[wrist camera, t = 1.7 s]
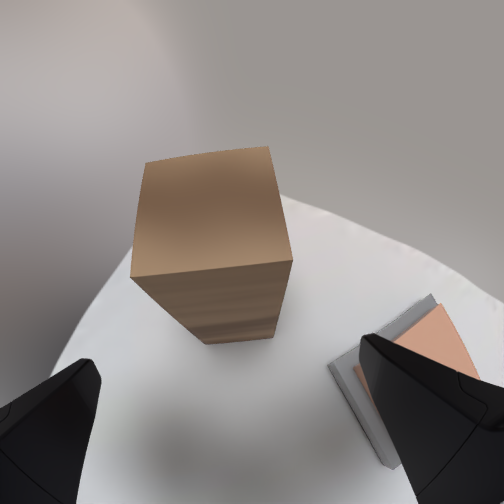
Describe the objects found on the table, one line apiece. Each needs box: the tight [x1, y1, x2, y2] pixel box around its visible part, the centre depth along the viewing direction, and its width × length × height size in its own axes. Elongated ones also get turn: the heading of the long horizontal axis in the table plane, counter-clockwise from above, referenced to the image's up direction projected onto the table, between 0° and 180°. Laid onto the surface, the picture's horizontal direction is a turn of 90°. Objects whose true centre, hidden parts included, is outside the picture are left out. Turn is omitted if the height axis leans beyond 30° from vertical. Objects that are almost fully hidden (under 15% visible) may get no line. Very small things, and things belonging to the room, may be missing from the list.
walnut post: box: [130, 146, 293, 345], centre depth 15 cm, size 5×5×13 cm
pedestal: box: [328, 294, 480, 470], centre depth 16 cm, size 10×10×4 cm
